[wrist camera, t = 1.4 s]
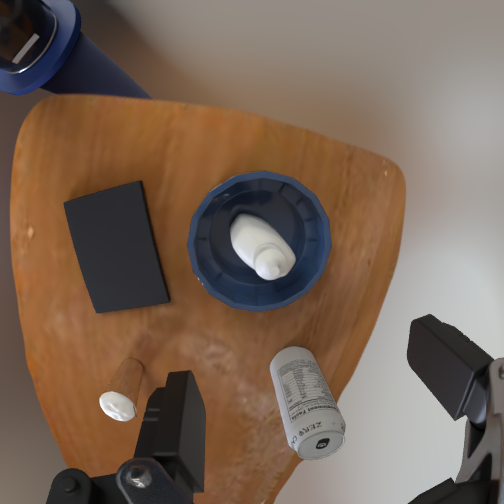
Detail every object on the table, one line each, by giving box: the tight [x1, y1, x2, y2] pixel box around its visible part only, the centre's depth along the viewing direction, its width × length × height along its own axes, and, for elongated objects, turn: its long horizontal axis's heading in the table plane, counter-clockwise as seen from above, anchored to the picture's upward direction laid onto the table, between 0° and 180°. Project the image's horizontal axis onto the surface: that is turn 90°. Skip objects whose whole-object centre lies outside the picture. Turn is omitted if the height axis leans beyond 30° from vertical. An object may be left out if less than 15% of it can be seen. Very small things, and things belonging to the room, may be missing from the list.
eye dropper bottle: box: [230, 213, 296, 280], centre depth 26 cm, size 4×6×12 cm
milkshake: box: [100, 358, 143, 421], centre depth 30 cm, size 4×5×10 cm
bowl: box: [187, 170, 332, 312], centre depth 29 cm, size 13×13×6 cm
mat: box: [64, 181, 170, 313], centre depth 30 cm, size 14×10×1 cm
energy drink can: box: [270, 346, 346, 460], centre depth 30 cm, size 6×6×15 cm
